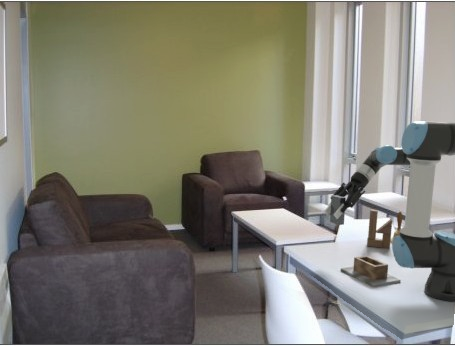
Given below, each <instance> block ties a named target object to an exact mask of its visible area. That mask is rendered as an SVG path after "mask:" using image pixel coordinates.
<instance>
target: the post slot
mask: <svg viewBox="0 0 455 346" xmlns="http://www.w3.org/2000/svg"><path fill="white" fill-rule="evenodd" d="M388 271H389V264H388V263H386V262H384V261H380V260H378V259H376V258H373V257H371V256H369V255H363V256H356V257H354V259H353V266H349V267H341V268H340V272H343V273H345V274H346V275H348V276H351V277H353V278H354V279H357V280H359V281H361V282H362V283H365V284H367V285H368V286H370V287H373V288H375V287H381V286H387V285H392V284H398V283H401V281H402V280H401V279H400V278H398V277H395V276H394V275H391V274H389V273H388Z"/></svg>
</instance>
